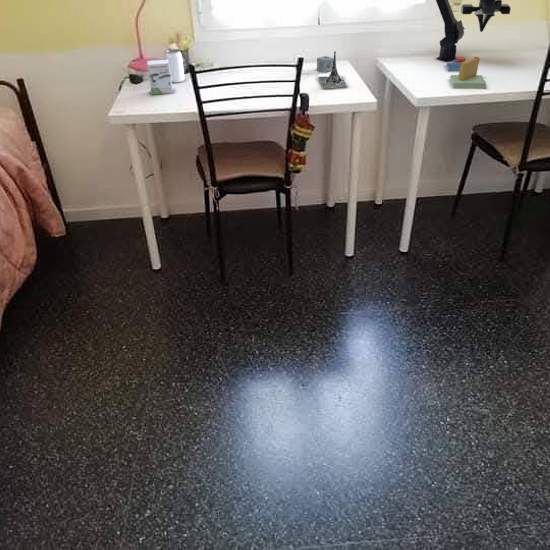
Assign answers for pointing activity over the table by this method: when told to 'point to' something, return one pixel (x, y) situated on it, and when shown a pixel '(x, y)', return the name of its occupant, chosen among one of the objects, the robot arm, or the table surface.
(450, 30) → the robot arm
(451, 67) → the button box
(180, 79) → the can
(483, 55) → the table surface
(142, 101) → the table surface
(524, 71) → the table surface
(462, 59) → the red button
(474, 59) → the brass bar
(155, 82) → the ink box
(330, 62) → the dice cube
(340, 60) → the table surface
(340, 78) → the eiffel tower figurine
